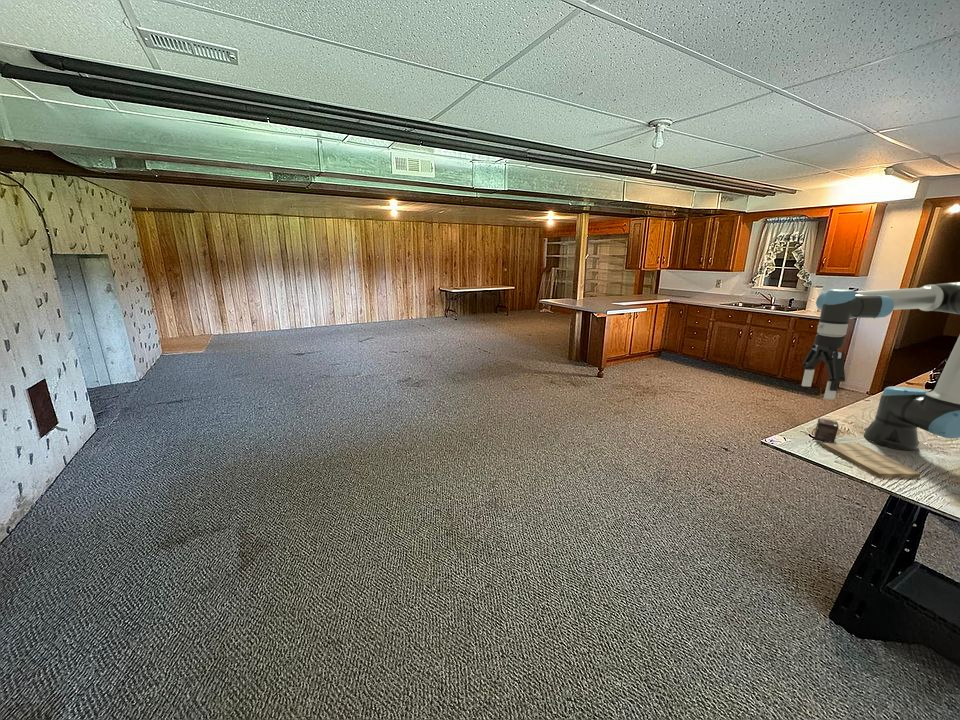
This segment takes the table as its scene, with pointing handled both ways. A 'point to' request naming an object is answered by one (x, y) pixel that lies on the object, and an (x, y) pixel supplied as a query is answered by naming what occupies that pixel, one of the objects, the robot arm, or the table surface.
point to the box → (826, 430)
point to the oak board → (871, 460)
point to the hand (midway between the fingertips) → (816, 392)
